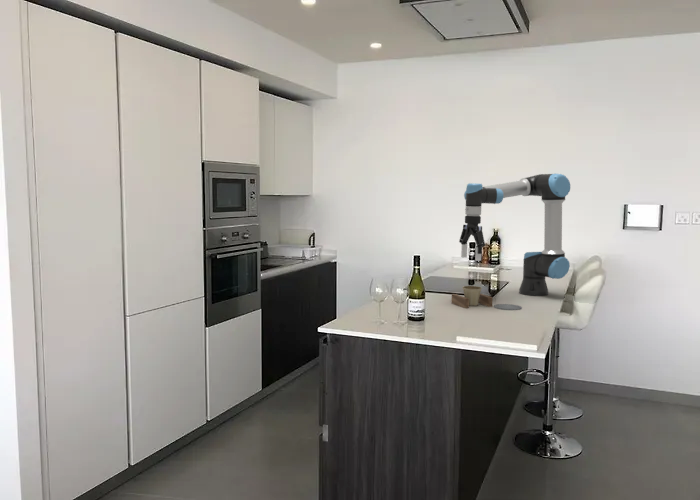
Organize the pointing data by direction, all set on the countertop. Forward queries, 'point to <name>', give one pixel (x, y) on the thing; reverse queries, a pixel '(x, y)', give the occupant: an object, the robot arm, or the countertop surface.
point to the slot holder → (464, 301)
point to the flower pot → (472, 294)
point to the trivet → (507, 306)
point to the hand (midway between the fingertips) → (470, 259)
